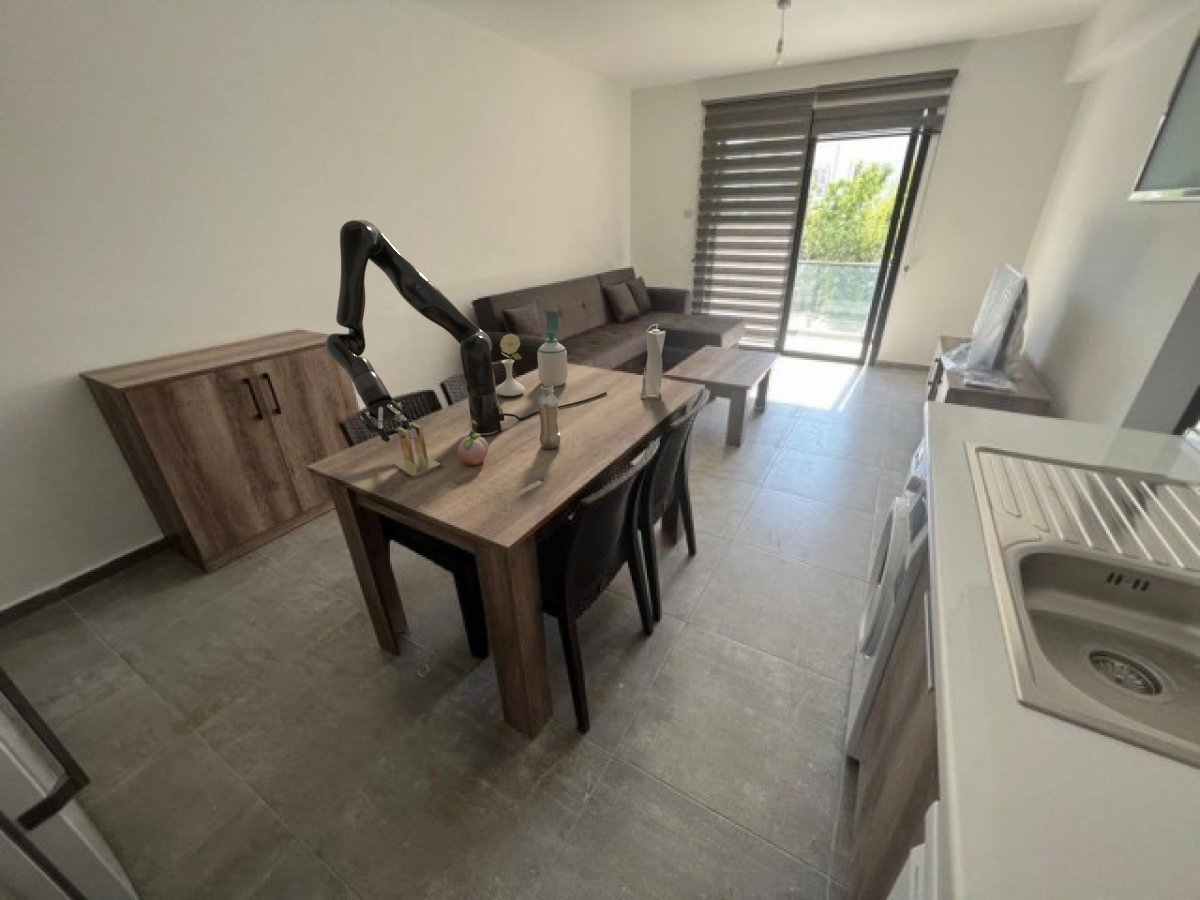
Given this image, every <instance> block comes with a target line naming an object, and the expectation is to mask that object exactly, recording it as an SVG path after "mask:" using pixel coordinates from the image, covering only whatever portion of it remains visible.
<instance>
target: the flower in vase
mask: <svg viewBox="0 0 1200 900" xmlns="http://www.w3.org/2000/svg"><path fill="white" fill-rule="evenodd" d="M520 340H521V339H520V337H519V336H517V335H515V334H513V333H510V334H509V333H508V334H506V335H503V336H502V338H501V339H500V342H499V343H500V344H499V346H500V349H501V352H500V353H501V354H502V355H503V356H504V357H507V359H503V360H501V363H502V364H503V366H504V369H505V375H506V378H505V380H504V381H503V382H502V383H501V384H499V386H498V387H497V388H496V394H498V395H499V396H503V397H516V396H520V395H522V394H523V393H524V392H525V390H526V388H525V387H524V385H523V384H522V383H519V381H517V380H515V379H514V377H513V365H514V363H515V360H517V361H518V360H522V359H523V357H522V356H521V354H519V353H518V349H519V348H520V346H521V342H520ZM509 355H511V356H509ZM508 358H509V359H508Z"/></svg>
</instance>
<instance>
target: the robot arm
mask: <svg viewBox="0 0 1200 900" xmlns="http://www.w3.org/2000/svg"><path fill="white" fill-rule="evenodd" d="M339 252H340V281H339V292H338V299H337V308H336V316H335V320H336V323H337V324H338V326H341V327H343V328H346V329H347V330H348V332H347V333H341V332H339V333H338V332H335V333H331V334H329V335H328V336H327V337H326V339H325V346H326V350H327V352H328V353H329V355H330V356H331V358H332V359H333V360H334V361H335V362H336V363H337V364H338V365H339V366H340V367H341V368H342V369H343V370H345V371H346V372H347V374H348V377H349V378H350V380H351V381H352V383H353V385H354V388H355V390H356V392H357V394H358V396H359V397H360V399H361V401H362V403H363V405H364V406H365V408H366V409H367V411H362V412H361V413H360V415H359V419H360V421H361V422H362V423H363V424H364V426H365V428H367V430H368V431H369V432H370V434H371V433H377V434H378V435H379V436H380V438H381V440H382V441H383V442H385V443H387V444H388V443H389V442H391V441H390V440H391V438H390V436H388V434H387V433H386V431H387V430H386V429H385V428H384V427H383V425H384V424H383V423H384V422H386V421H387V420H394V421H396V422H399V423H400V424H401V426H405V427H406V429H409V428H411V424H410V423H409V421H410V420H411V418H412V413H411V411H410V408H409V406H408V403H407V402H406V400H401V401H400V402H396V401H394V400H393V398H392V395H391V394H390V392H389V390H388V389H387V386H386V385H385V384H384V382H383V381H382V379H381V377H380V375H378V374H377V371H376V370H375V369H374V367H373V365H372V363H371V362H370V360H369V359H367V358H366V357H364V356H362V355H363V354H364V352H365V350H366V338H365V332H364V331H365V330H364V324H363V323H364V315H365V310H366V285H365V283H366V282H365V279H366V278H365V277H366V271H367V265H368V263H369V261H370V262H372V263H373V264H374V265H375V266H377V267H378V268H379V269H380V270H381V271H382V272H383V273H384V274H385V275H386V277H387V278H388V279H389V280H390V282H391V284H392V285H393V287H394V288H395V289H396V291H397V292H398V293H399V295H400V296H401V297H402V299H404V300H405V301H406V303H408V305H410V306H411V307H412V308H413V309H414V310H415V311H416V312H417V313H418V314H420V315H421V316H423V318H425V319H426V320H428V321H430V322H432V323H434V324H435V325H437V326H439V327H440V328H441V329H443V330H445V331H446V332H447V333H449V334H450V335H451V336H452V337H453V338H454V339H455V340H456V342H458V343H459V355H460V361H461V367H462V374H463V376H464V377H463V378H464V380H465V386H466V393H467V401H468V407H469V408H468V409H469V415H470V418H469V423H471V424H470V425H471V432H472V434H475V433H478V434H481V435H480V437H487V436H492V435H496V434H498V433H501V432H502V425H501V422H505V417H514V418H516V420H519V421H522V420H526V419H528V418H530V417H532V416H534V415H536V414H539V410H536V411H533V412H531V413H529V414H527V415H525V416H523V417H519V416H518V415H517V414H515V413H507V412H506V413H505V412H504V411H503V408H501V407H499V403H498V396H497V388H496V377H495V372H494V369H493V368H494V367H493V359H492V350H493V342H492V340H491V338H490V336H489V335H488V334H487V333H486V332H485V331H483V330H482V329H481V328H480V327H478V326H477V325H476V324H474V323H473V322H472V321H471V320H470V319H468V318H467V317H466V316H465V315H464V314H463V313H462V312H461V311H460V310H459V309H458V308H457V307H456V306H455V305H454V304H453V302H451V300H450V299H449V298H448V297H447V296H445V294H444V293H443V292H442V291H441V290H440V289H439V288H438V287H437V286H436V285H435V284H434V283H433V281H431V280H430V279H429V278H427V277H426V276H425V275H424V274H423V273H422V272H421V271H420V270H419V269H418V268H416V267H415V266H414V265H413V264H412V263H411V262H410V261H409V260H408V259H406V258H405V257H404V256H403V255H402V254H401V253H400V252H399V251H398V250H397V249H396V248H395V247H394V245H393V244H392V243H391V242H390V241H389V240H388V238H387V237H386V236H385V235H384V234H383V233H382V231H381V230H380V229H379V228H378V227H377V225H375V224H373V223H372V222H371V221H368V220H365V219H353V220H348V221H346V222H345V223H343V224H342V226H341V228H340V231H339ZM607 394H608V393H607V392H606V391H605V392H603V393H600V394H597V395H595V396H591V397H589V398H586V399H582V400H578V401H575V402H571V403H566V404H561V405H558V409H562V408H567V407H570V406H574V405H578V404H583V403H586V402H590V401H591V400H594V399H597V398H600V397H602V396H605V395H607ZM397 408H398V409H399V410H400V411H402V413H401V412H400V411H399V410H398V409H397ZM371 417H372V418H373V419H375V420H376V421H375V422H376V423H375V424H376V425H375V424H374V422H373V421H372V420H371Z"/></svg>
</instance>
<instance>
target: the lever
mask: <svg viewBox="0 0 1200 900" xmlns="http://www.w3.org/2000/svg"><path fill="white" fill-rule="evenodd" d="M399 427H401V428H403V429H405V430H407V431H408V432H409V437H410V440H411V439H414V437H417V432H416V429H415V428H409V429H406V427H405V426H402V425H401V426H398V427H395V428H391V429H390V430H385V431H386V433H387V434H388V436H389V437H390V436H393V435H395V434H398V435H399V433H398V429H397V428H399Z"/></svg>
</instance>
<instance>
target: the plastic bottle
mask: <svg viewBox="0 0 1200 900" xmlns="http://www.w3.org/2000/svg"><path fill="white" fill-rule="evenodd" d="M554 391H555V390H554V387H553V386H552V385H544V384H542V385H541V386H540V393H541V395H540V396H539V398H538V400H537V404H536V405H537V411H539V413H538V414H539V419H540V434H539V442H540V445H541V446H542V447H543V448H544V449H547V450H548V449H550V450H551V449H555V448H557V447H559V445H560V444H561V434H560V429H559V423H558V422H559V420H558V419H559V417H558V414H559V408H558V406H559V400H558V398H557V397H556V395H555V394H554Z"/></svg>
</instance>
